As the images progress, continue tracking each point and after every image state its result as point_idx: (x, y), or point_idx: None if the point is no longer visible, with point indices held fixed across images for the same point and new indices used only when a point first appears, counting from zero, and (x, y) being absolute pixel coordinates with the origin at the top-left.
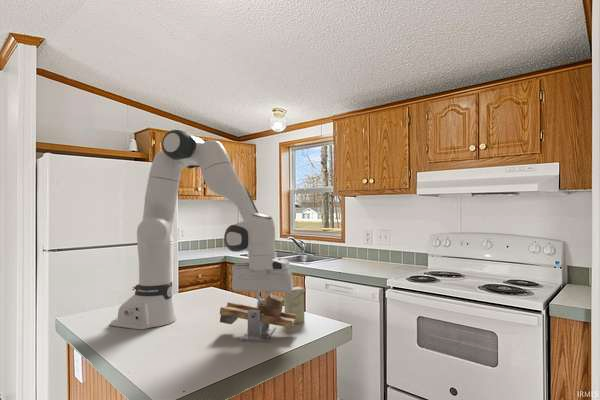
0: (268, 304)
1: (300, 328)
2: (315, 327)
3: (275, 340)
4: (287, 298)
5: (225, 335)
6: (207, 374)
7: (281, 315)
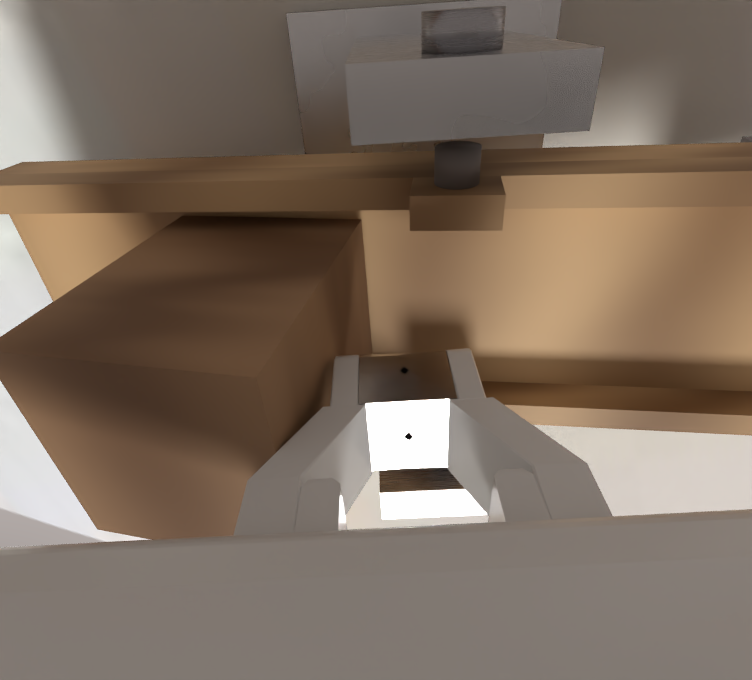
0: (252, 306)
1: None
2: None
3: (222, 93)
4: None
5: (729, 128)
6: None
7: None
